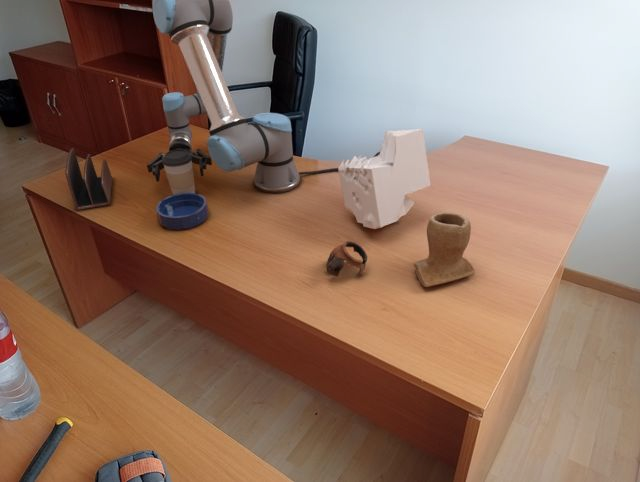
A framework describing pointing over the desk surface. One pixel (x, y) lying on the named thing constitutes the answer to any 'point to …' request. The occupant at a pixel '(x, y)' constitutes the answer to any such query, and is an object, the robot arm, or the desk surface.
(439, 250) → the stone cup
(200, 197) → the bowl
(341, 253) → the brown curved piece
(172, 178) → the coffee cup
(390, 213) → the jagged white plaster chunk
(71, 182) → the letter holder
